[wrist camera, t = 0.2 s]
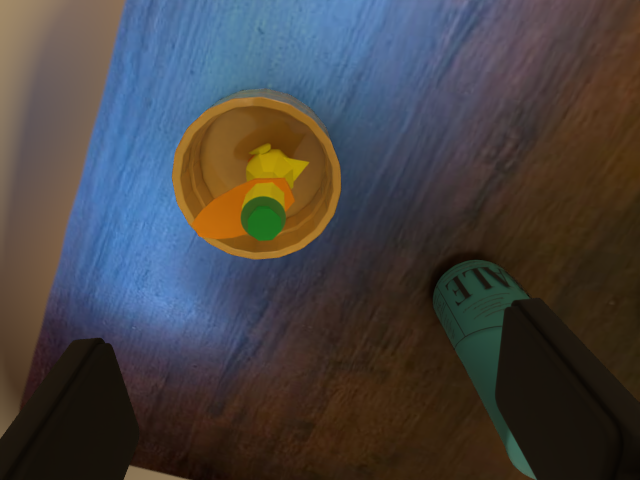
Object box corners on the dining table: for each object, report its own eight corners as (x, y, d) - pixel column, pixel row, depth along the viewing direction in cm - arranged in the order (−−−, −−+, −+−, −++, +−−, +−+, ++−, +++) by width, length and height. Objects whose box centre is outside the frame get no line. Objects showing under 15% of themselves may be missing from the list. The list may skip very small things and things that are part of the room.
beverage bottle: (458, 330, 38) (608, 598, 20) (406, 285, 36) (520, 537, 18) (520, 280, 36) (746, 523, 18) (469, 230, 34) (666, 446, 16)
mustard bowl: (178, 93, 29) (156, 103, 25) (330, 83, 29) (337, 91, 25) (203, 233, 33) (189, 264, 29) (337, 223, 34) (344, 252, 29)
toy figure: (231, 204, 32) (197, 290, 21) (207, 159, 31) (158, 226, 20) (317, 168, 31) (329, 238, 20) (297, 121, 30) (297, 168, 19)
